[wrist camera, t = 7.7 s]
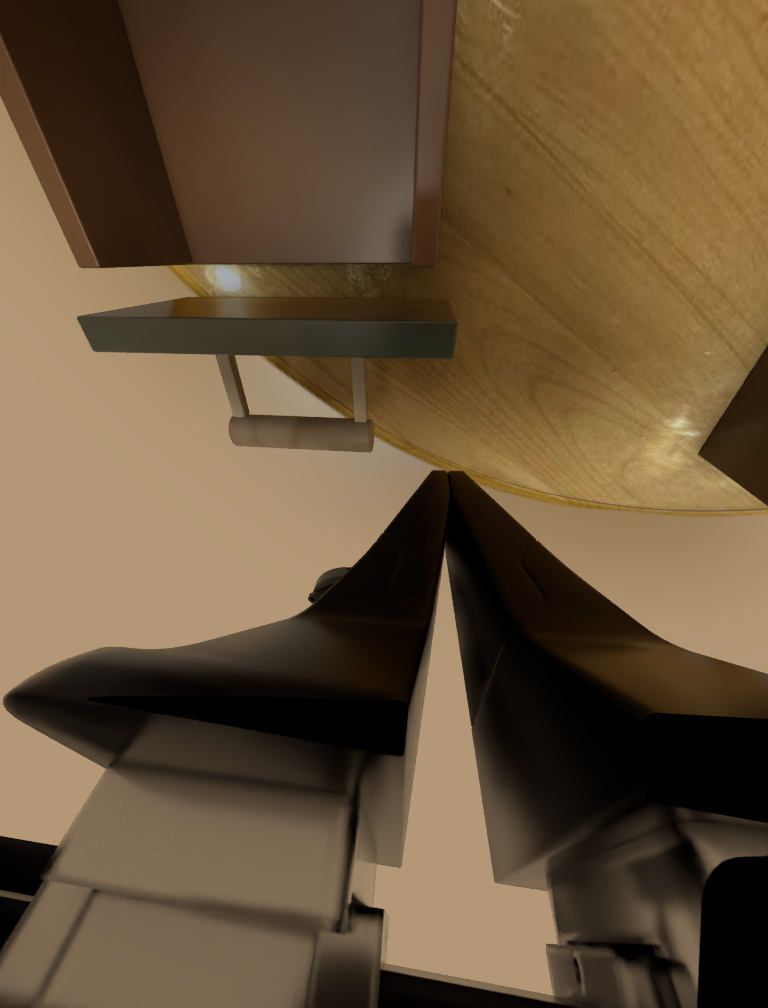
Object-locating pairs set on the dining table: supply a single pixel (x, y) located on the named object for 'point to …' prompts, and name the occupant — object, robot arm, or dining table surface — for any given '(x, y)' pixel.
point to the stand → (744, 435)
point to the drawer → (244, 170)
